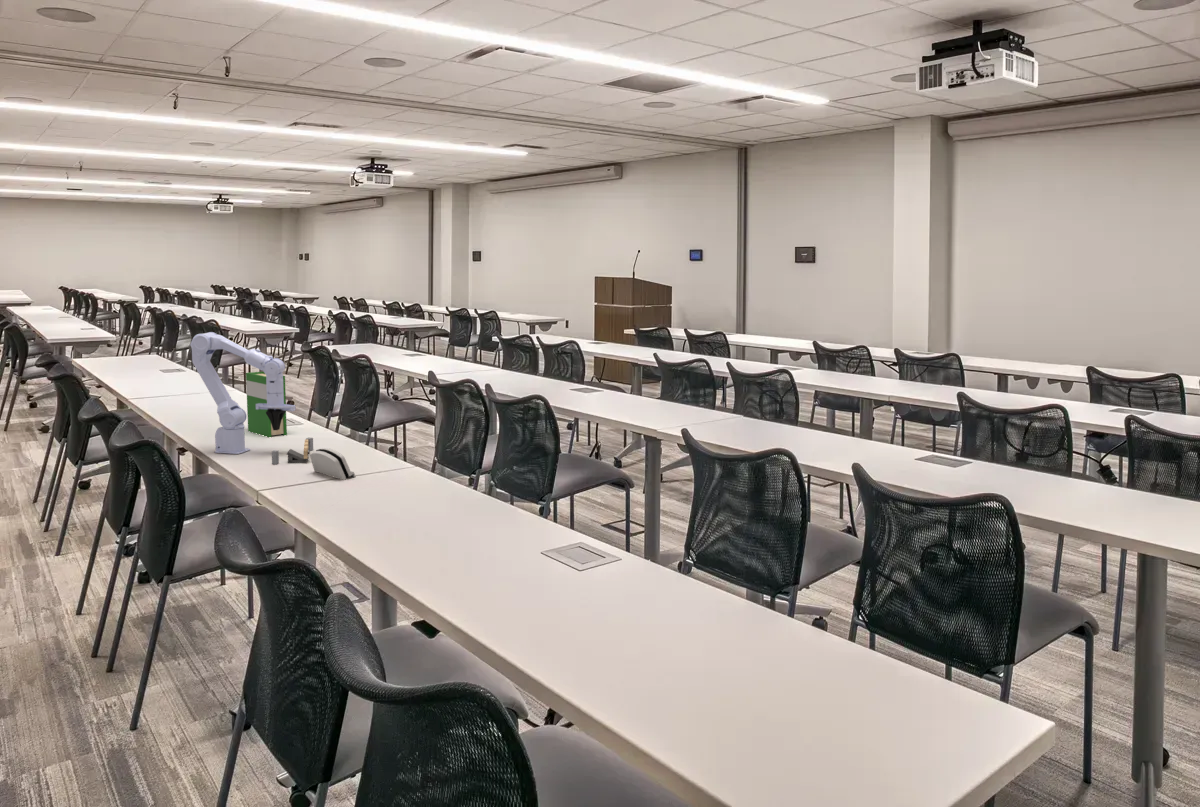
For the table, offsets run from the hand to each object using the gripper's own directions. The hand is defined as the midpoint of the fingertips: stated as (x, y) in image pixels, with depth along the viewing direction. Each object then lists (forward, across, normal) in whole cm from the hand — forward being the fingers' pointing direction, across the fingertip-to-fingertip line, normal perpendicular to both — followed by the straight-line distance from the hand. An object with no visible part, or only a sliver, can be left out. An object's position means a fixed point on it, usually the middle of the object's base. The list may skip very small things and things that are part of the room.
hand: (276, 429), depth 310 cm
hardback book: (+9, -23, +32) cm, 40 cm away
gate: (+7, +14, -4) cm, 16 cm away
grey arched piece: (+9, +34, -26) cm, 44 cm away
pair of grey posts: (+8, +9, -5) cm, 13 cm away
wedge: (+8, +14, -11) cm, 20 cm away
